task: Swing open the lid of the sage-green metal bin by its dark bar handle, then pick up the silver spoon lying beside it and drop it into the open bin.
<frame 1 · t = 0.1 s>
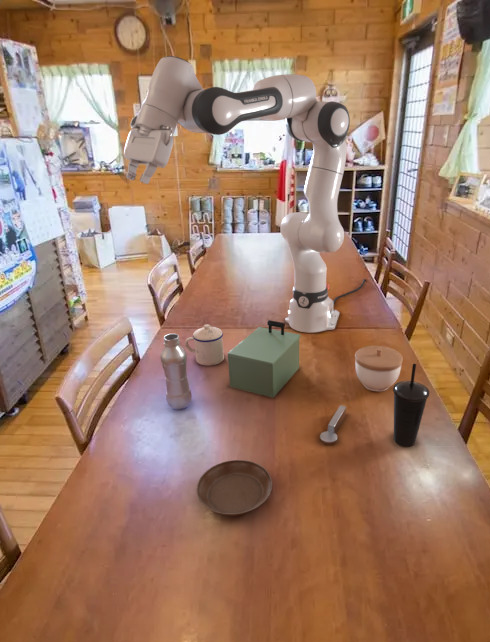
hand: (136, 180, 111), 54 cm above the table, tool tilted 30°, fingers open, 8 cm apart
bin: (265, 377, 131), on the table
lidded bowl: (376, 385, 127), on the table
teacup with lid: (205, 359, 142), on the table
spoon: (336, 424, 110), on the table
silver metal bottle: (180, 406, 119), on the table
saucer: (235, 495, 90), on the table
drinking cup: (404, 440, 105), on the table
bin lid: (265, 338, 126), point 12 cm above the table, hinge at 0.0°
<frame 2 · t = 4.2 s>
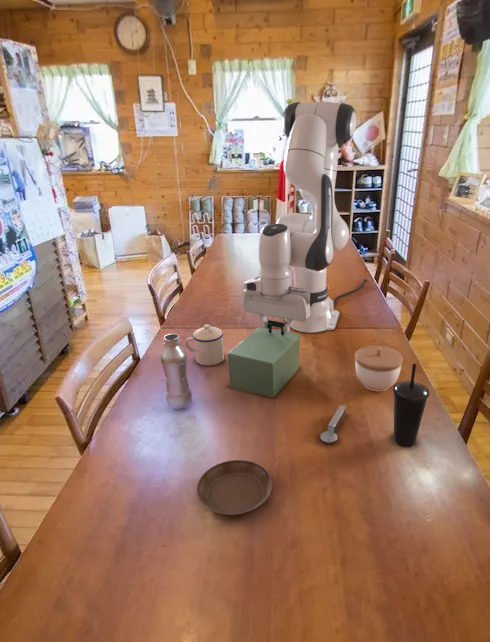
hand: (276, 329, 132), 12 cm above the table, tool pointing down, fingers closed on bin lid, 5 cm apart
bin lid: (265, 338, 126), point 12 cm above the table, hinge at 0.0°, touching gripper
everything else where it was.
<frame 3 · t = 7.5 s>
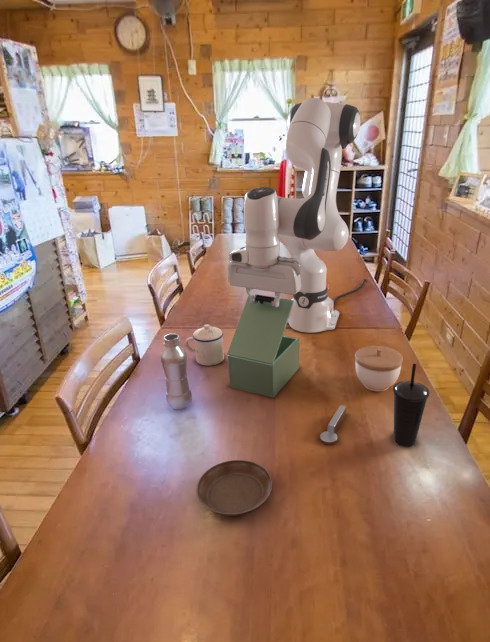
hand: (264, 304, 122), 22 cm above the table, tool pointing down, fingers closed on bin lid, 5 cm apart
bin lid: (258, 324, 121), point 18 cm above the table, hinge at 42.9°, touching gripper
everything else where it was.
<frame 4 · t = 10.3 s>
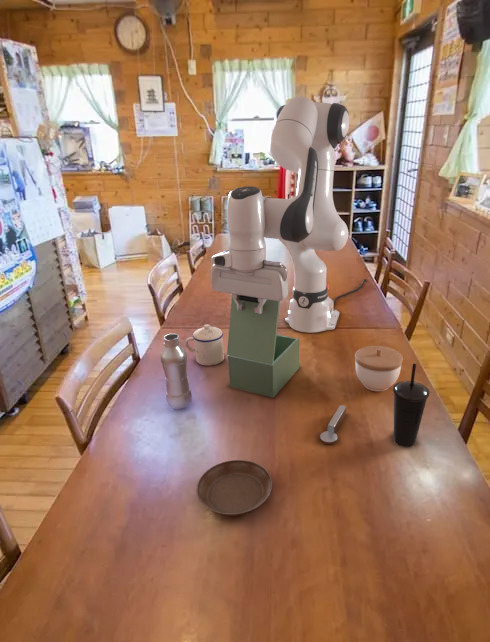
hand: (249, 311, 115), 23 cm above the table, tool pointing down, fingers open, 4 cm apart
bin lid: (249, 325, 116), point 20 cm above the table, hinge at 73.9°
everything else where it was.
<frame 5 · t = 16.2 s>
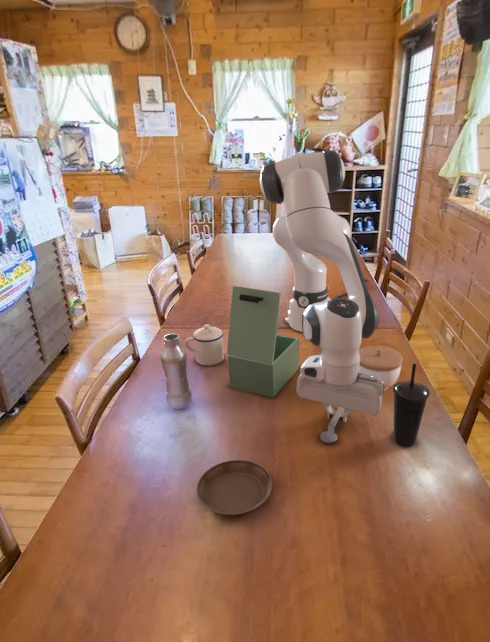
hand: (337, 419, 110), 2 cm above the table, tool pointing down, fingers closed on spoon
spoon: (336, 424, 110), on the table, touching gripper
everything else where it was.
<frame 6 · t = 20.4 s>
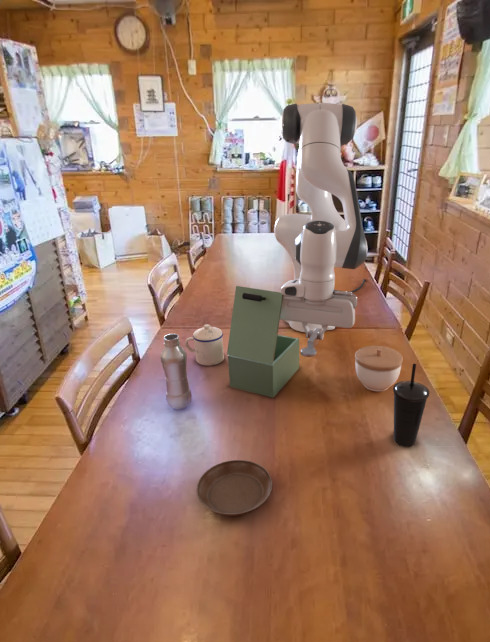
hand: (314, 338, 120), 15 cm above the table, tool pointing down, fingers closed on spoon
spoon: (314, 344, 120), point 13 cm above the table, touching gripper
bin lid: (251, 324, 117), point 20 cm above the table, hinge at 68.6°, touching arm
everything else where it was.
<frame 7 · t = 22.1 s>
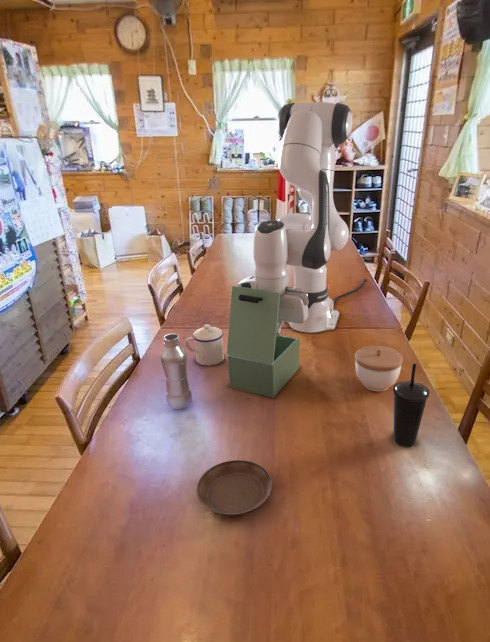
hand: (272, 331, 126), 14 cm above the table, tool pointing down, fingers closed on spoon
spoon: (272, 338, 126), point 12 cm above the table, touching gripper
bin lid: (249, 325, 116), point 20 cm above the table, hinge at 74.8°
everything else where it was.
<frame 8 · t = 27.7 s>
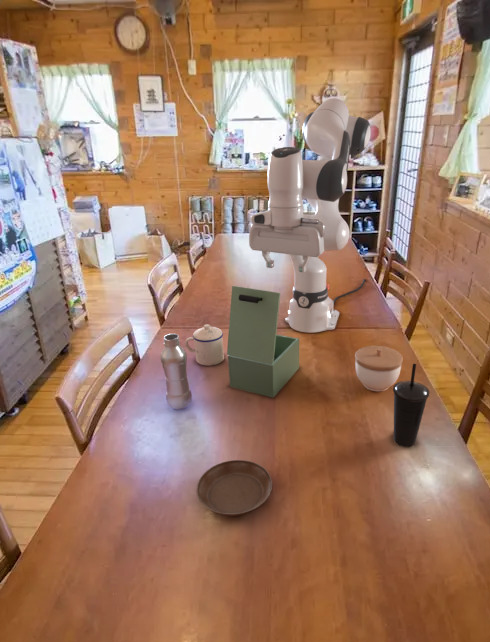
hand: (286, 269, 121), 31 cm above the table, tool pointing down, fingers open, 8 cm apart
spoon: (267, 372, 132), point 1 cm above the table, touching bin
everything else where it was.
at the end: bin lid at +75° (first picture: +0°); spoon inside the target area in the bin (1.3 cm from its centre), point 0.8 cm above the bin's base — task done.
